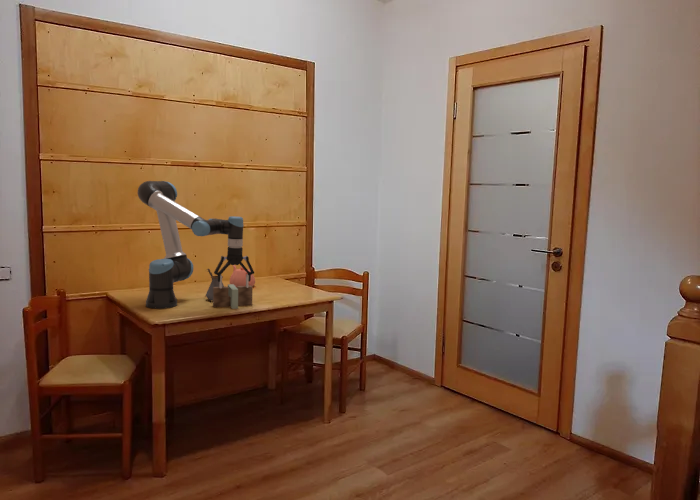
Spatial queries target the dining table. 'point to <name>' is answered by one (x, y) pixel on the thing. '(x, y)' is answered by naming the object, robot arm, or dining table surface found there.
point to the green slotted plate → (233, 296)
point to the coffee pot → (213, 284)
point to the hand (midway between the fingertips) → (233, 287)
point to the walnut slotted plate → (224, 300)
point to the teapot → (241, 277)
